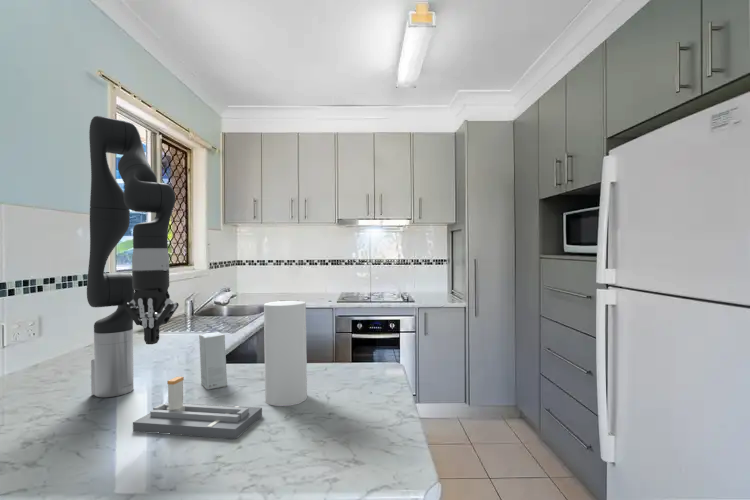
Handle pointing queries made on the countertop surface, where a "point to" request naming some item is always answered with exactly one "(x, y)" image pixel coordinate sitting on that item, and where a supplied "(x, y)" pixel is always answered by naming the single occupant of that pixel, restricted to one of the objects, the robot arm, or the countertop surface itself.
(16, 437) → the countertop surface
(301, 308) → the tall pillar cylinder
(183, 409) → the fader tab
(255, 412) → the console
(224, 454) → the countertop surface
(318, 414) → the countertop surface
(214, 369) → the skincare box
